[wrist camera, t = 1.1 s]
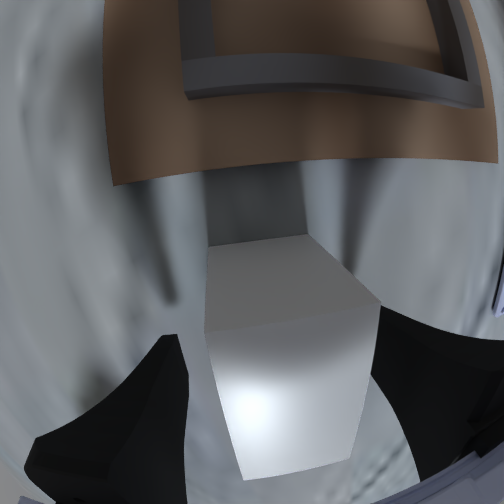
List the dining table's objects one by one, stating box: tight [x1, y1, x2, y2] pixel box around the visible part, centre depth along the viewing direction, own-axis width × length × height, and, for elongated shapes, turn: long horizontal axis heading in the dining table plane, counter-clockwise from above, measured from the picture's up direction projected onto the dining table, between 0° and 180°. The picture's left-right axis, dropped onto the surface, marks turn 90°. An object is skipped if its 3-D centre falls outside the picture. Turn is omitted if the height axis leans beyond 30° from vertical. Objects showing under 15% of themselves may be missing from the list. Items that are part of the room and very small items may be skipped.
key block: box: [204, 234, 381, 480], centre depth 10 cm, size 4×7×6 cm, turn 5°
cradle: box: [103, 0, 498, 186], centre depth 8 cm, size 18×13×2 cm
